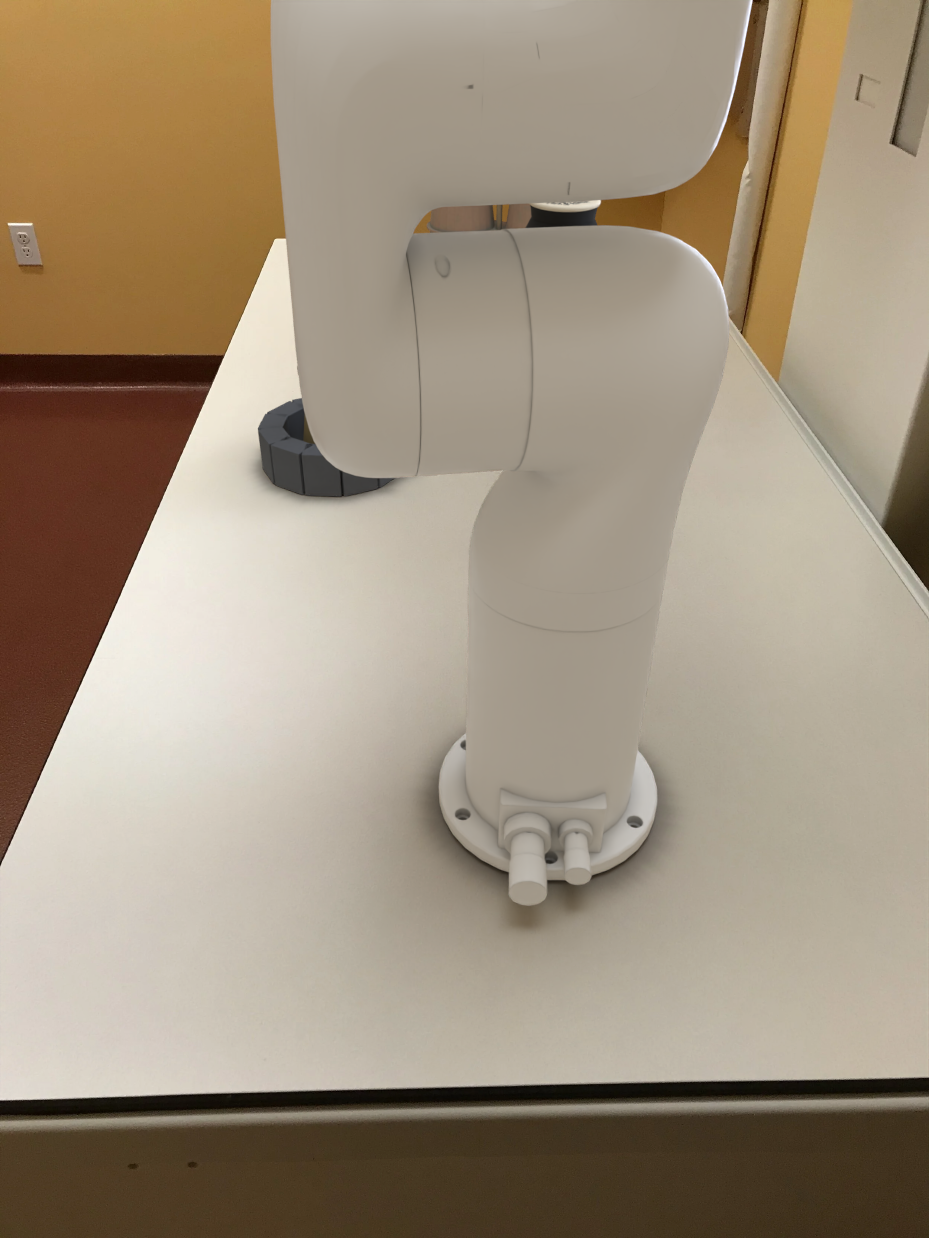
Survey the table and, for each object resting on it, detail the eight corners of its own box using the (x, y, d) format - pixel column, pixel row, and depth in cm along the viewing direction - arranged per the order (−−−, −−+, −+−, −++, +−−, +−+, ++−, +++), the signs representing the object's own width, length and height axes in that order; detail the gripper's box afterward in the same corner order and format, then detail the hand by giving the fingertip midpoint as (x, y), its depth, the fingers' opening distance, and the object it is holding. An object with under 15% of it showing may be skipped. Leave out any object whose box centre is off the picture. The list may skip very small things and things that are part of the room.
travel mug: (601, 374, 107) (617, 203, 96) (536, 384, 105) (546, 210, 94) (568, 350, 113) (581, 186, 102) (507, 358, 111) (513, 192, 100)
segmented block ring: (396, 498, 84) (395, 457, 82) (250, 494, 85) (244, 452, 82) (410, 434, 95) (409, 395, 92) (280, 430, 95) (276, 392, 93)
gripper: (387, -152, 73) (395, 102, 83) (355, -167, 59) (369, 140, 69) (486, -151, 72) (481, 103, 83) (477, -166, 58) (473, 142, 69)
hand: (430, 120), depth 76 cm, fingers open, 9 cm apart
